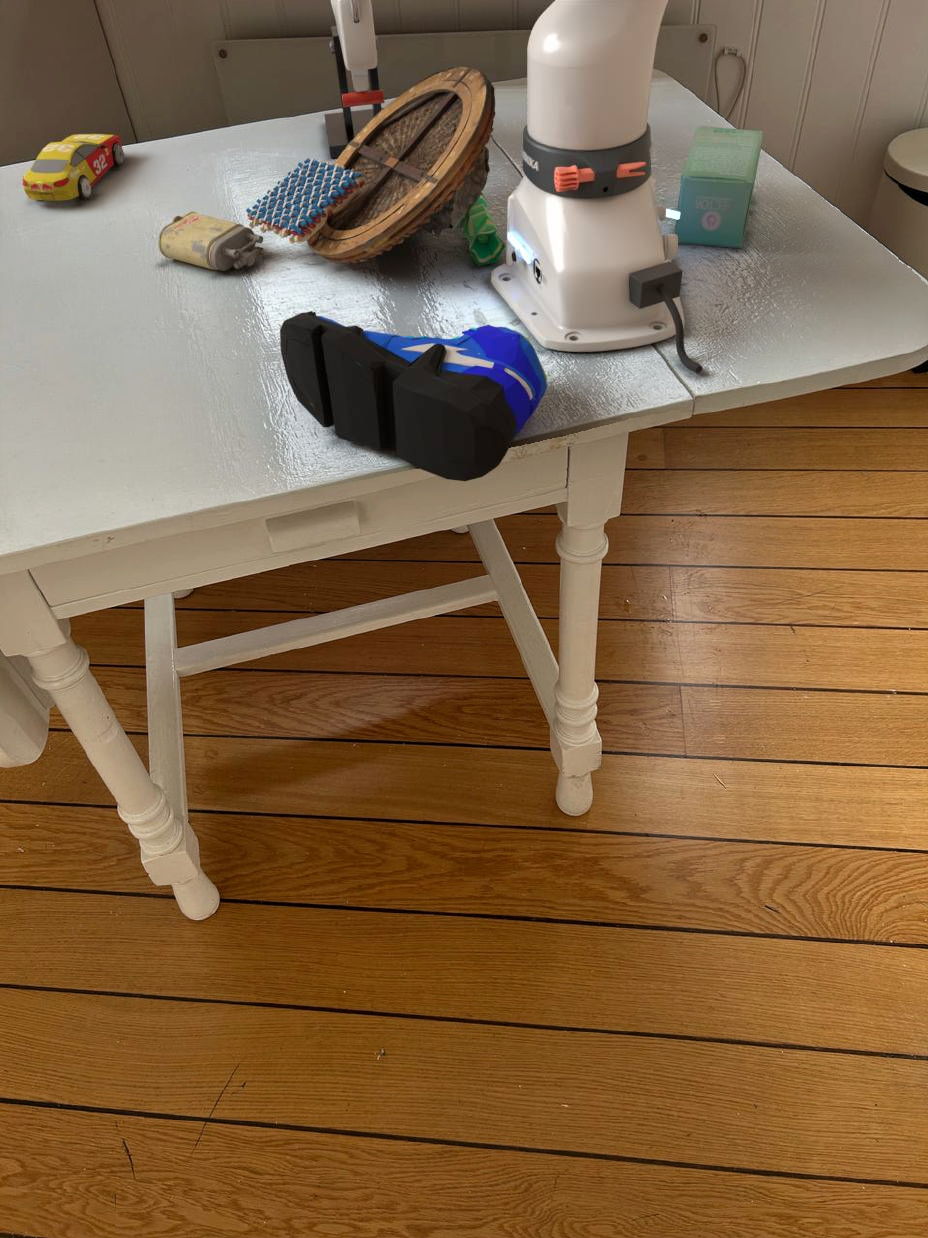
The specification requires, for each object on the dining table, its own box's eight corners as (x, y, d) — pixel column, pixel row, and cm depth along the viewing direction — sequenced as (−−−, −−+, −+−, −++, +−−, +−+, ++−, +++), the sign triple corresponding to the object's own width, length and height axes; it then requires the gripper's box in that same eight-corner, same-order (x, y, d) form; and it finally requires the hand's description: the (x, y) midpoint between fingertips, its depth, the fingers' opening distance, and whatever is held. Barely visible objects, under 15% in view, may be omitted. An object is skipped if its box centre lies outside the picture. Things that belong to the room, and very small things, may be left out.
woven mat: (314, 168, 104) (305, 152, 103) (372, 185, 98) (364, 168, 96) (247, 228, 102) (238, 211, 100) (303, 249, 96) (293, 232, 94)
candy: (472, 178, 104) (492, 207, 107) (447, 197, 105) (467, 225, 108) (489, 223, 96) (510, 254, 99) (462, 244, 97) (484, 273, 100)
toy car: (133, 154, 126) (122, 115, 122) (78, 211, 114) (64, 170, 110) (80, 153, 127) (67, 114, 123) (20, 210, 115) (4, 168, 112)
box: (671, 245, 100) (681, 173, 95) (687, 192, 109) (696, 124, 103) (742, 251, 99) (755, 178, 93) (751, 197, 107) (764, 128, 102)
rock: (433, 278, 98) (516, 259, 101) (431, 177, 90) (521, 160, 93) (368, 217, 108) (445, 201, 111) (361, 122, 101) (444, 108, 104)
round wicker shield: (449, 71, 107) (300, 233, 112) (433, 47, 105) (282, 214, 110) (542, 110, 89) (359, 303, 93) (524, 83, 87) (338, 281, 91)
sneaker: (266, 409, 82) (375, 344, 91) (488, 503, 72) (585, 421, 81) (251, 308, 76) (369, 250, 85) (492, 397, 66) (597, 320, 75)
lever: (385, 109, 115) (383, 90, 112) (344, 113, 114) (342, 95, 112) (373, 45, 120) (371, 26, 117) (334, 49, 119) (331, 30, 117)
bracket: (406, 150, 122) (396, 38, 113) (330, 158, 121) (314, 47, 112) (397, 117, 130) (387, 11, 121) (325, 125, 129) (310, 19, 120)
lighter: (161, 262, 103) (232, 282, 100) (152, 228, 101) (224, 247, 97) (204, 236, 108) (273, 254, 104) (196, 203, 105) (267, 220, 101)
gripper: (382, -29, 96) (395, 115, 106) (365, -74, 110) (379, 57, 120) (320, -23, 96) (340, 121, 106) (312, -69, 109) (330, 63, 120)
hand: (360, 87), depth 113 cm, fingers closed
